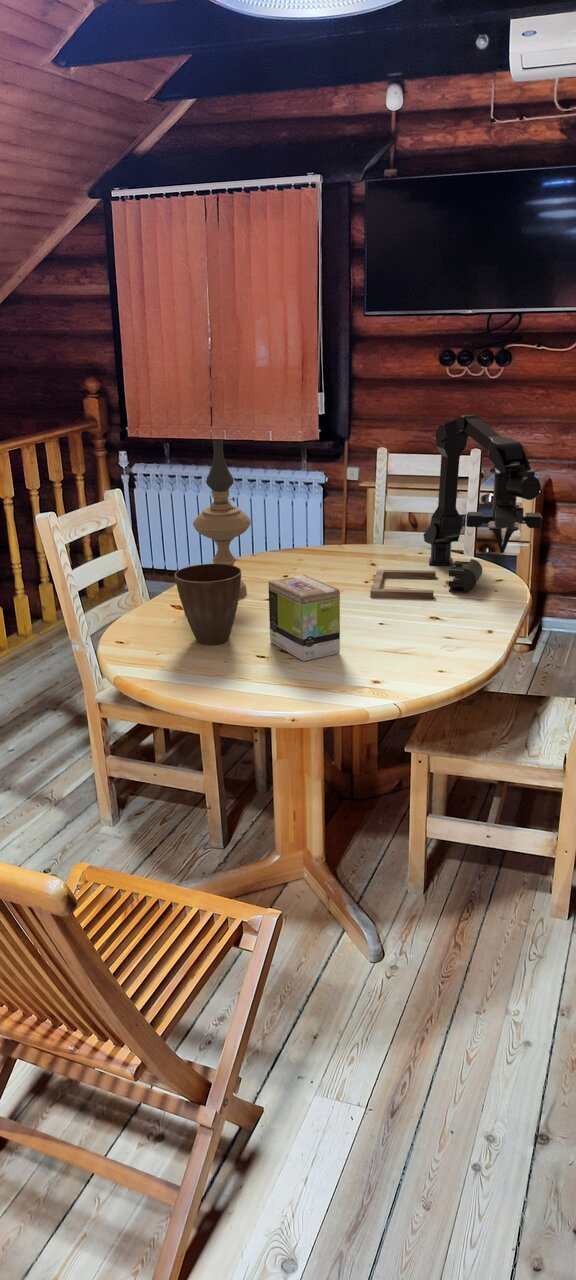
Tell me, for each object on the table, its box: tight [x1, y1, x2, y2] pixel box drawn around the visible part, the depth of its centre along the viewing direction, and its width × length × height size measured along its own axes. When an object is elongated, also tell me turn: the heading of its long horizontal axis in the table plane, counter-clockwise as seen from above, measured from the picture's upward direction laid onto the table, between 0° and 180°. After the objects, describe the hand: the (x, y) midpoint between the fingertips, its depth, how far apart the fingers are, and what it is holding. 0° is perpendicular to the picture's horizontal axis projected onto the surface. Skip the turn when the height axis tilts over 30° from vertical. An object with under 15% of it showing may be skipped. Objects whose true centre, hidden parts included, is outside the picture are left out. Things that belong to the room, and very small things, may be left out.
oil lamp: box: [192, 439, 252, 599], centre depth 241 cm, size 15×15×40 cm
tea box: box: [268, 574, 341, 662], centre depth 206 cm, size 15×10×15 cm
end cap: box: [448, 558, 483, 594], centre depth 246 cm, size 10×7×7 cm
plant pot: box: [174, 563, 242, 646], centre depth 213 cm, size 15×15×16 cm
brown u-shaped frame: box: [369, 568, 437, 600], centre depth 250 cm, size 20×16×2 cm
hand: (501, 552), depth 242 cm, fingers closed
